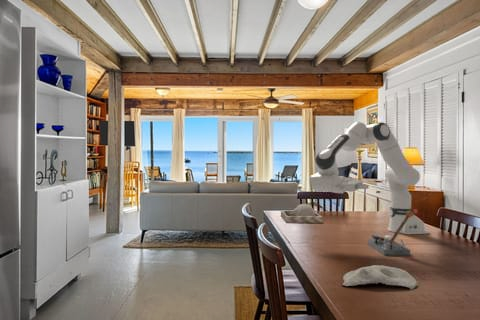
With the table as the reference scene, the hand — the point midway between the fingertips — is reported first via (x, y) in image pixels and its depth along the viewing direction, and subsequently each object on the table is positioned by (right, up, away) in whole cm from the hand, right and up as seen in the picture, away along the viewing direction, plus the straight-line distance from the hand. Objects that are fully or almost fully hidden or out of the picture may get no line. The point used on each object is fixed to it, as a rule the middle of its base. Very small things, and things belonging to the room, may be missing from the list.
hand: (367, 187), depth 179 cm
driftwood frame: (-21, -28, +74) cm, 82 cm away
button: (+11, -27, +2) cm, 30 cm away
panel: (+9, -30, -3) cm, 32 cm away
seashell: (-18, -29, +75) cm, 82 cm away
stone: (-14, -32, -47) cm, 59 cm away
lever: (+8, -27, -7) cm, 29 cm away
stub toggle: (+13, -27, -11) cm, 32 cm away
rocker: (+6, -26, +3) cm, 27 cm away
